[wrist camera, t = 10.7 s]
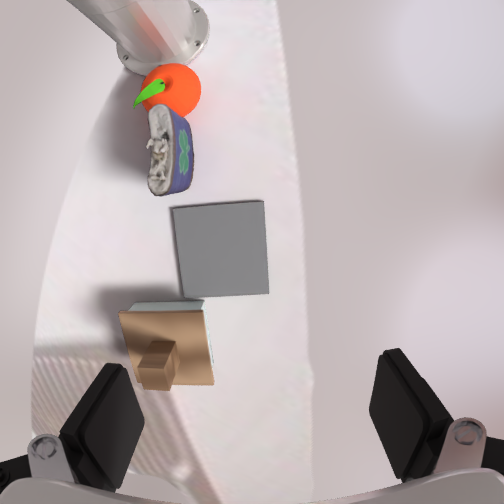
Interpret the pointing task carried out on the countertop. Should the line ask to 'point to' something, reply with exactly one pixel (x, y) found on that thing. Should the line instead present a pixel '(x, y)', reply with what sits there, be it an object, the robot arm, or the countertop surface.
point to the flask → (169, 151)
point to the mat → (222, 249)
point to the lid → (167, 347)
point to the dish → (175, 306)
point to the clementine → (171, 88)
